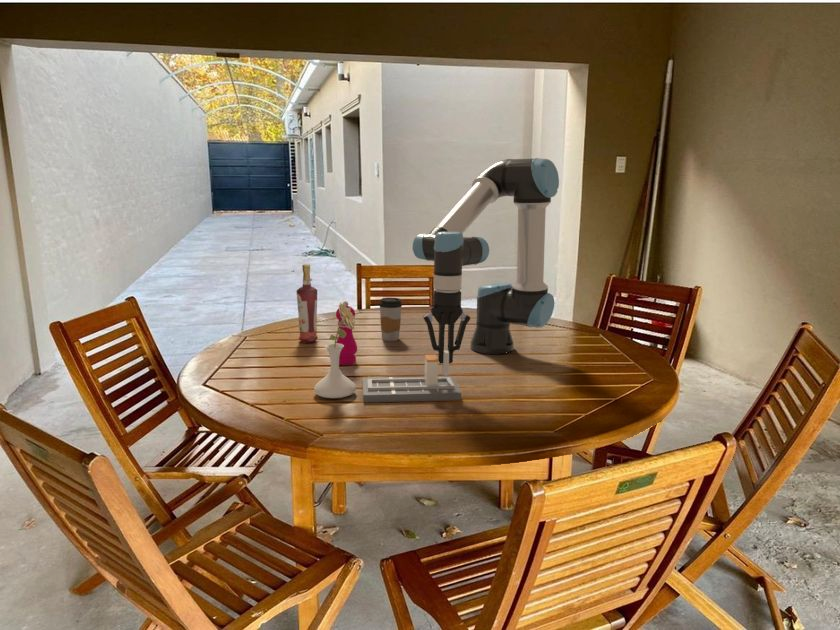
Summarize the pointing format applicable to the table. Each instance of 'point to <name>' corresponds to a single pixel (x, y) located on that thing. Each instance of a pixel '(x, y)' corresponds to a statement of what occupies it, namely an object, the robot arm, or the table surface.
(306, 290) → the liquor
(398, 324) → the coffee cup
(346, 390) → the flower in vase
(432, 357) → the fader
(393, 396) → the panel
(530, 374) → the table surface
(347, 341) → the pepper mill
